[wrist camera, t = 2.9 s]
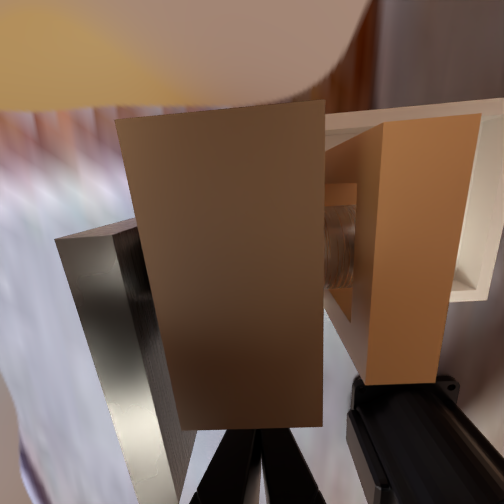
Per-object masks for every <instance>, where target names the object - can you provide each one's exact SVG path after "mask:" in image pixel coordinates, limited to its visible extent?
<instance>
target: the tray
mask: <svg viewBox="0 0 504 504" xmlns="http://www.w3.org/2000/svg"><path fill="white" fill-rule="evenodd" d="M477 113H482V116H481V122H480V127H479V133H478V139H477V145H476V150H475V156H474V162H473V168H472V173H471V179H470V185H469V191H468V196H467V202H466V208H465V214H464V220H463V225H462V231H461V237H460V243H459V248H458V254H457V260H456V266H455V271H454V277H453V283H452V289H451V294H450V300H449V302H463V301H482V300H487V297H488V293H489V288H490V284H491V279H492V275H493V270H494V266H495V261H496V257H497V252H498V248H499V243H500V239H501V234H502V230H503V225H504V98H493V99H482V100H472V101H461V102H450V103H440V104H429V105H419V106H408V107H397V108H387V109H376V110H365V111H355V112H344V113H334V114H325V151H327V150H329V149H331V148H333V147H335V146H337V145H339V144H341V143H343V142H345V141H347V140H349V139H351V138H353V137H355V136H357V135H359V134H361V133H363V132H365V131H367V130H369V129H371V128H373V127H375V126H377V125H379V124H381V123H383V122H390V121H401V120H412V119H422V118H433V117H444V116H455V115H466V114H477ZM324 309H325V308H324Z"/></svg>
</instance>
